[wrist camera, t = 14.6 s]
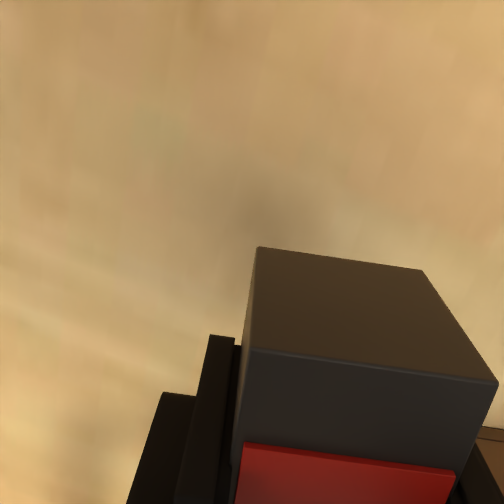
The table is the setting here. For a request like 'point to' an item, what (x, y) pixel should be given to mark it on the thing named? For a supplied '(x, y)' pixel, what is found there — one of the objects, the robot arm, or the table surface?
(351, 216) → the table surface
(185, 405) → the robot arm
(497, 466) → the cabinet
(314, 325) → the black and red block
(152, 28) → the table surface
